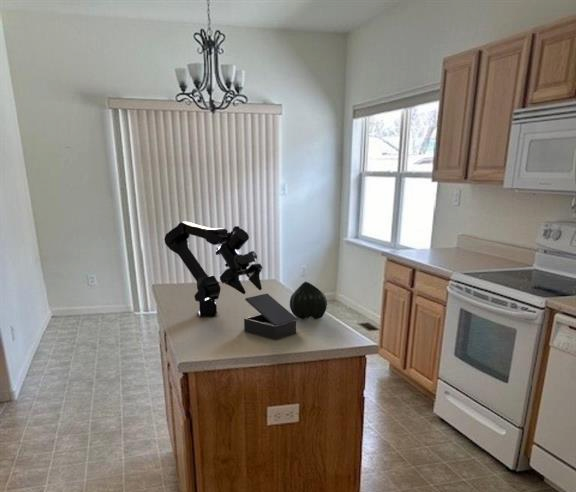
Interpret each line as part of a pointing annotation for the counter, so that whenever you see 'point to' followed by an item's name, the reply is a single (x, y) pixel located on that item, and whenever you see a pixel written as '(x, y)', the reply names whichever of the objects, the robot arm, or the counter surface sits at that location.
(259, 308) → the cover
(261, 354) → the counter surface
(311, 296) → the squash
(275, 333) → the case
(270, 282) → the counter surface
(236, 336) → the counter surface
